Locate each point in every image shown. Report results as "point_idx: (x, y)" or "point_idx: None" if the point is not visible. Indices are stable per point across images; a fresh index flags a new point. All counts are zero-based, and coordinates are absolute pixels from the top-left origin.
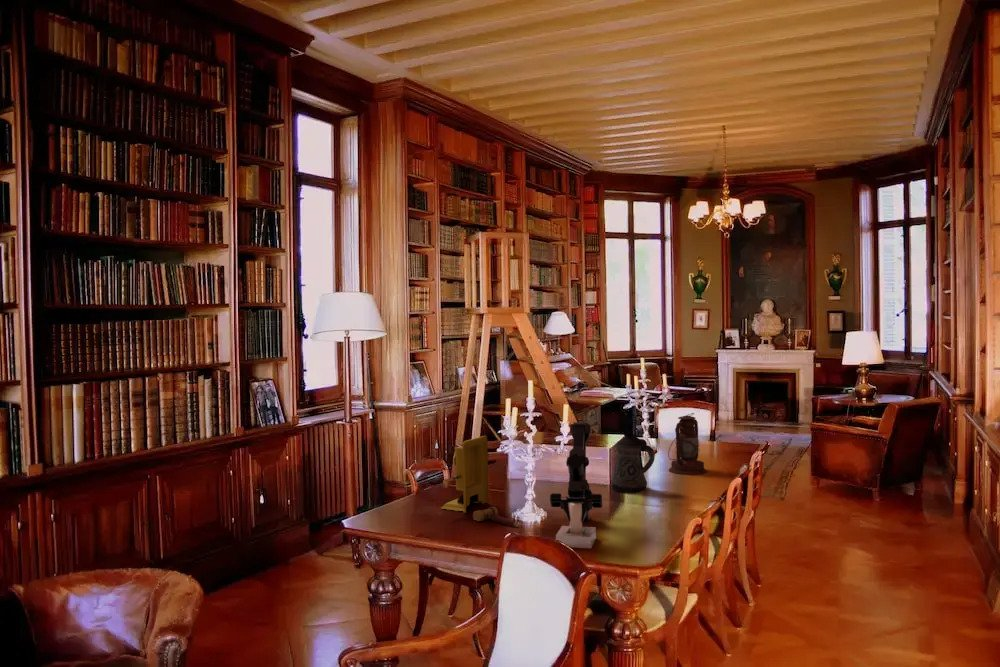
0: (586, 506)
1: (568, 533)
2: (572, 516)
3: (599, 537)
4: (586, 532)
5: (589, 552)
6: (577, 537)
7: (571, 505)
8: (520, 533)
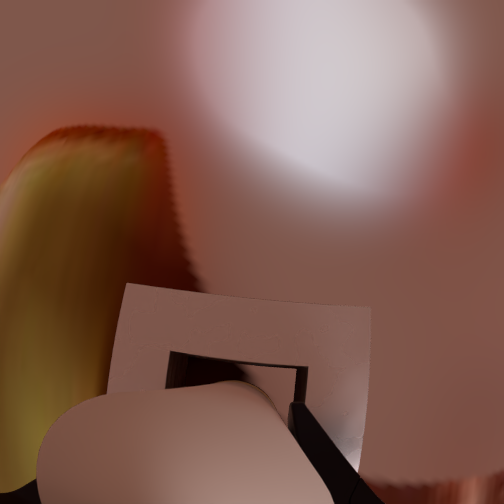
0: (26, 497)
1: (286, 363)
2: (252, 397)
3: None
4: None
5: (164, 239)
6: (215, 295)
7: (273, 432)
8: (500, 471)
